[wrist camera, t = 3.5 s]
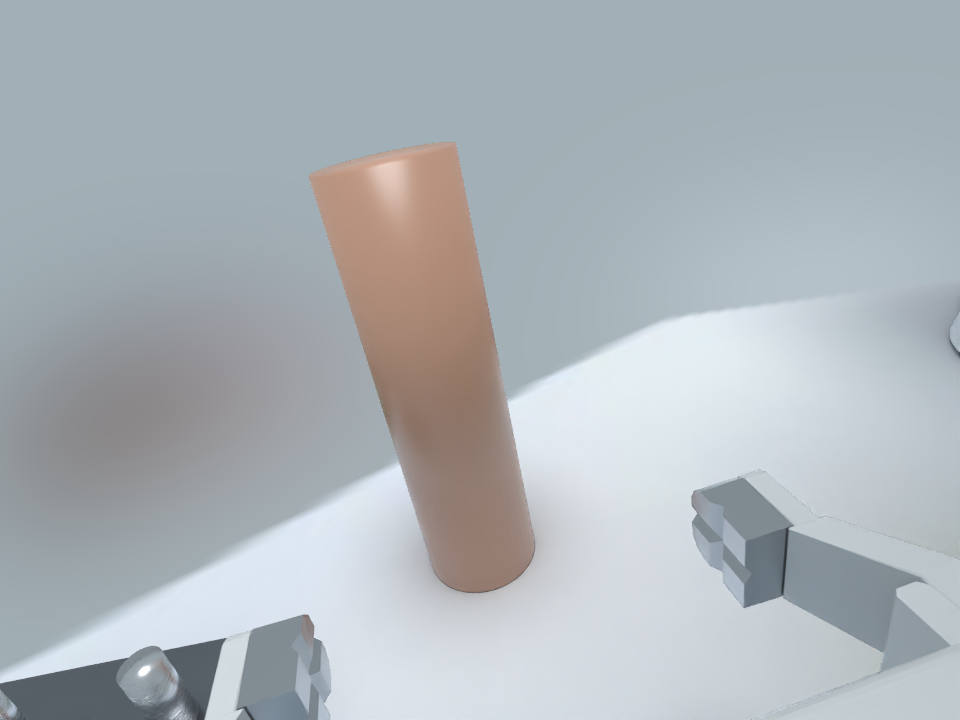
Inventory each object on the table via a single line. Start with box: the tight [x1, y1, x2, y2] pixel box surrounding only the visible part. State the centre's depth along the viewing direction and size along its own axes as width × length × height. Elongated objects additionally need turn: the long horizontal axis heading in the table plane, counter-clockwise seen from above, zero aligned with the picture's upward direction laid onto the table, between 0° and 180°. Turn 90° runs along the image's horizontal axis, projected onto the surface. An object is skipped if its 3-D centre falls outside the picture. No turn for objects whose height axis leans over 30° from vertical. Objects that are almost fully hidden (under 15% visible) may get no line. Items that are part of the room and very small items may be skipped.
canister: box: [309, 142, 535, 593], centre depth 23 cm, size 5×5×18 cm
